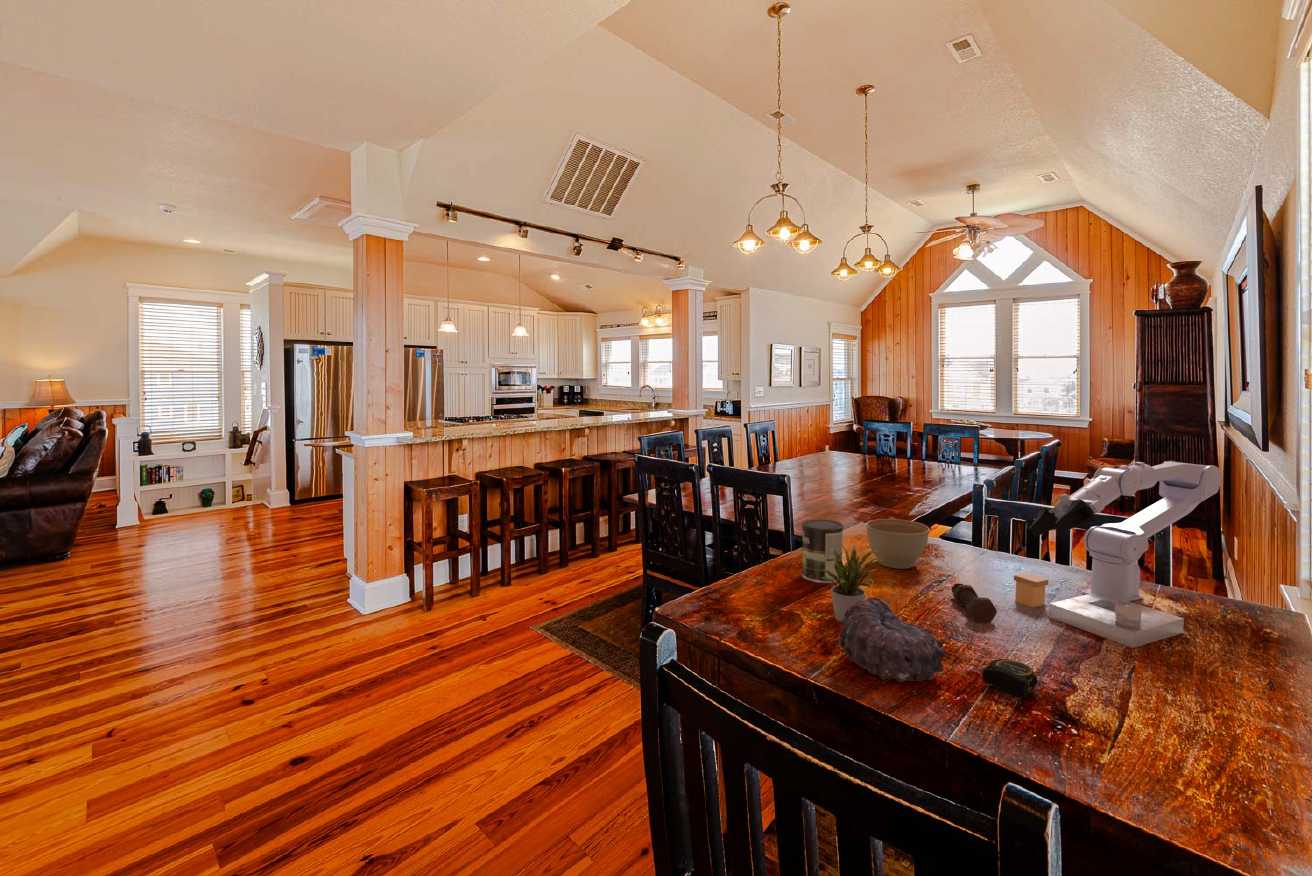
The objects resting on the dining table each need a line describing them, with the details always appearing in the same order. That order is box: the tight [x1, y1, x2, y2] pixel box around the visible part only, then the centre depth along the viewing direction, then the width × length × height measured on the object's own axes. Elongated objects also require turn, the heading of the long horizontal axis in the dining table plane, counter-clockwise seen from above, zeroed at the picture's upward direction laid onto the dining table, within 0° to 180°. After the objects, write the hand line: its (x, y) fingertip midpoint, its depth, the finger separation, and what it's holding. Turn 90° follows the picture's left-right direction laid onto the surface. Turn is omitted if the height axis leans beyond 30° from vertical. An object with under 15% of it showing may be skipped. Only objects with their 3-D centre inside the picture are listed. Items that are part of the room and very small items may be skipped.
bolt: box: [951, 583, 998, 624], centre depth 130 cm, size 6×5×15 cm
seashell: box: [838, 596, 946, 683], centre depth 105 cm, size 19×13×15 cm
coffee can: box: [801, 518, 844, 584], centre depth 152 cm, size 10×10×14 cm
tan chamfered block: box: [1013, 572, 1049, 608], centre depth 133 cm, size 4×5×6 cm
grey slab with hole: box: [1048, 592, 1185, 649], centre depth 121 cm, size 16×16×7 cm
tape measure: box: [981, 658, 1038, 698], centre depth 97 cm, size 7×7×4 cm
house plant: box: [816, 543, 885, 623], centre depth 125 cm, size 14×14×16 cm
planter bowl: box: [865, 518, 930, 570], centre depth 162 cm, size 16×16×11 cm
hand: (1045, 530), depth 128 cm, fingers open, 7 cm apart
